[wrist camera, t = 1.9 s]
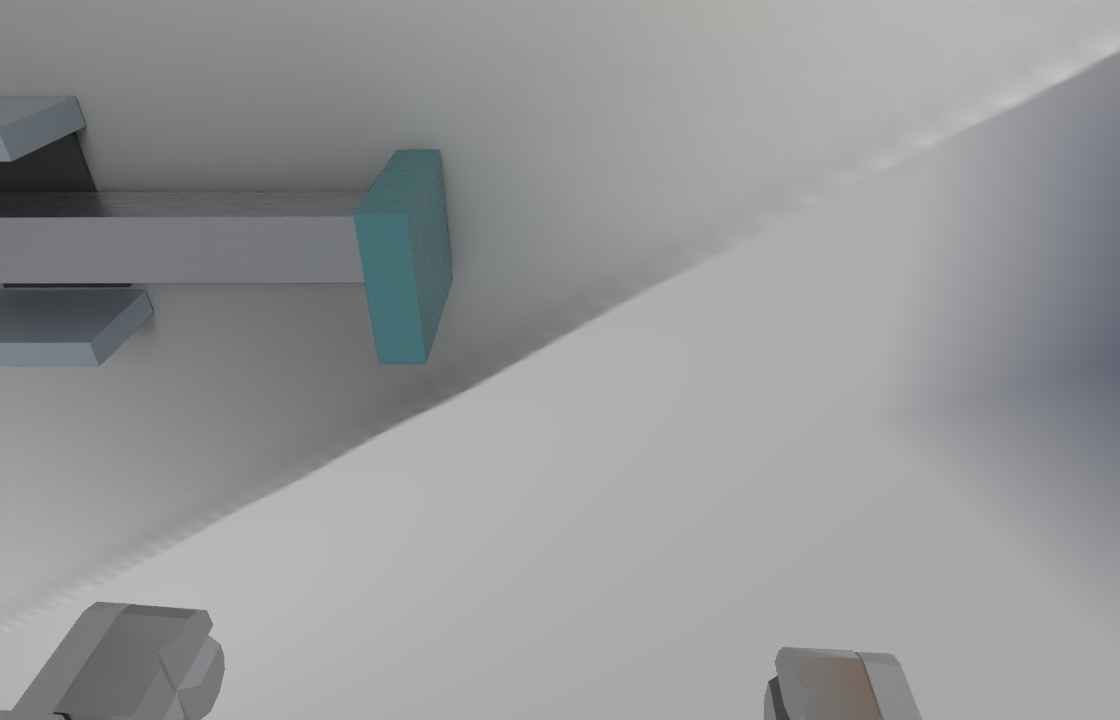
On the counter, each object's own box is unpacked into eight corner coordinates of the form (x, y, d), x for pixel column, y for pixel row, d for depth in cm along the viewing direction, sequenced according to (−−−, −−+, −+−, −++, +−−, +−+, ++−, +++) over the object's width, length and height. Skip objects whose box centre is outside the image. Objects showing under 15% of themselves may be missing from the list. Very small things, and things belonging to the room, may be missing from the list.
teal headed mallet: (-44, 279, 28) (-179, 363, 23) (-111, 152, 25) (-279, 216, 20) (452, 278, 28) (426, 363, 23) (439, 149, 25) (406, 213, 20)
